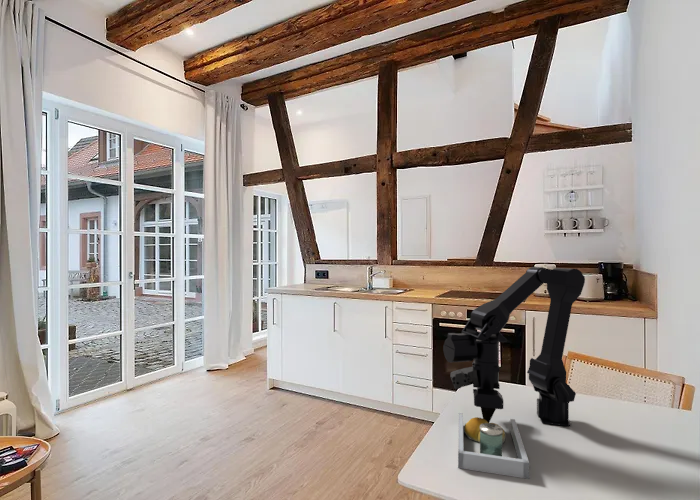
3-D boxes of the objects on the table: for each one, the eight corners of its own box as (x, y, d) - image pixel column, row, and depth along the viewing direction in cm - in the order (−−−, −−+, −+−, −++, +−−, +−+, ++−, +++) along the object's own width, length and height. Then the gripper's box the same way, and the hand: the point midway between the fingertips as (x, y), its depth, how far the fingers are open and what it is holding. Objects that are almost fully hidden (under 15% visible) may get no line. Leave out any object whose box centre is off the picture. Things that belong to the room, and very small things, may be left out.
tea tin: (503, 465, 77) (504, 434, 77) (480, 461, 79) (480, 431, 79) (501, 453, 82) (501, 424, 82) (478, 450, 83) (479, 421, 83)
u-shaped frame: (514, 431, 92) (514, 419, 92) (529, 478, 73) (529, 462, 73) (458, 424, 95) (458, 412, 95) (458, 467, 76) (458, 452, 76)
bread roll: (495, 451, 83) (495, 432, 83) (458, 436, 90) (458, 419, 90) (512, 439, 89) (512, 421, 89) (476, 426, 95) (476, 410, 95)
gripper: (453, 348, 106) (452, 405, 105) (451, 367, 88) (451, 436, 87) (496, 351, 102) (496, 409, 102) (503, 372, 85) (503, 443, 84)
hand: (486, 423), depth 94 cm, fingers closed
